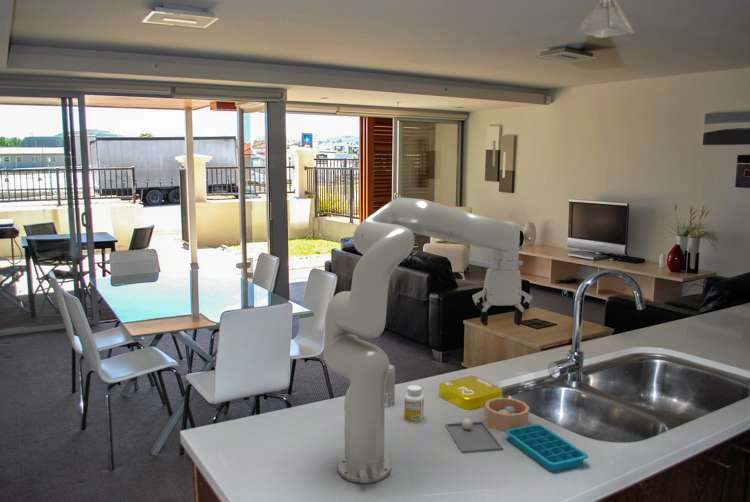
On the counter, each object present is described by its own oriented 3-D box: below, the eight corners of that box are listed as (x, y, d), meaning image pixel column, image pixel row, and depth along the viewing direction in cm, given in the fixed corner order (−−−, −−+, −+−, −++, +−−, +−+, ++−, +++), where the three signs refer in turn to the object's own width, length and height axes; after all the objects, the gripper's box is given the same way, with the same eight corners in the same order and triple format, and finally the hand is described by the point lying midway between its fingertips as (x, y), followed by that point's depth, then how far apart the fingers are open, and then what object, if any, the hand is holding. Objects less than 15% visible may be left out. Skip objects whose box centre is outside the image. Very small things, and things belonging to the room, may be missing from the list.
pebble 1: (474, 431, 168) (474, 420, 168) (463, 431, 168) (463, 421, 168) (470, 426, 171) (471, 416, 171) (460, 427, 171) (460, 417, 170)
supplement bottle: (411, 414, 180) (412, 382, 179) (426, 419, 177) (427, 387, 175) (400, 420, 176) (401, 387, 175) (416, 425, 173) (416, 392, 171)
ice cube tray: (538, 433, 169) (539, 423, 169) (590, 467, 151) (590, 456, 150) (502, 440, 165) (503, 430, 164) (551, 477, 146) (551, 465, 146)
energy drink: (385, 399, 191) (386, 362, 189) (398, 404, 187) (398, 366, 185) (373, 404, 187) (373, 366, 185) (386, 409, 184) (386, 370, 182)
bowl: (535, 430, 170) (535, 413, 169) (493, 433, 168) (494, 416, 167) (518, 412, 181) (519, 396, 181) (479, 415, 180) (479, 399, 179)
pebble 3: (517, 420, 175) (518, 408, 174) (505, 421, 174) (506, 409, 174) (513, 415, 178) (513, 403, 178) (501, 416, 178) (501, 404, 177)
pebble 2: (512, 425, 171) (512, 412, 171) (498, 427, 171) (499, 413, 170) (507, 420, 175) (507, 406, 175) (493, 421, 174) (494, 407, 174)
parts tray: (503, 451, 158) (503, 447, 158) (461, 454, 156) (461, 450, 156) (482, 424, 174) (482, 421, 173) (444, 427, 172) (444, 423, 172)
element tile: (504, 403, 190) (505, 388, 189) (466, 413, 182) (466, 398, 181) (473, 387, 202) (473, 373, 202) (436, 396, 195) (436, 381, 194)
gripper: (528, 263, 178) (524, 320, 180) (470, 262, 175) (467, 321, 178) (538, 267, 170) (535, 327, 173) (478, 267, 168) (475, 328, 170)
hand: (500, 324), depth 175 cm, fingers open, 9 cm apart
